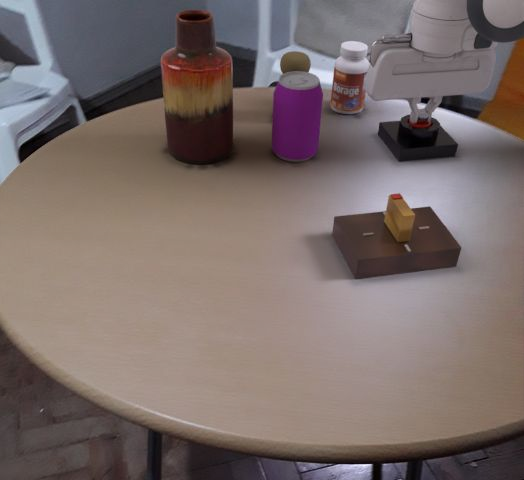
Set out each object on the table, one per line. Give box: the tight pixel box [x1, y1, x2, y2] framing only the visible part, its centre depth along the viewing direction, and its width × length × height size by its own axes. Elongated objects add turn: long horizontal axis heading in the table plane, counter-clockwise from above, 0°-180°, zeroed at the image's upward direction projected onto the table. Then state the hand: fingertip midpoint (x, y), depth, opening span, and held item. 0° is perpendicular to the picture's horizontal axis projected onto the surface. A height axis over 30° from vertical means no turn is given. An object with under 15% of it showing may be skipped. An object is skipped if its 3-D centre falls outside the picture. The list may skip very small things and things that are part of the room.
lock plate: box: [331, 206, 462, 280], centre depth 84 cm, size 14×10×3 cm
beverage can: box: [271, 71, 324, 163], centre depth 100 cm, size 8×8×12 cm
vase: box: [160, 9, 234, 165], centre depth 97 cm, size 11×11×20 cm
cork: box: [279, 50, 312, 74], centre depth 109 cm, size 6×6×11 cm
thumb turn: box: [384, 192, 415, 242], centre depth 81 cm, size 5×2×4 cm, turn 13°
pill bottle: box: [329, 40, 370, 115], centre depth 113 cm, size 6×6×11 cm
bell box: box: [377, 113, 459, 163], centre depth 105 cm, size 10×10×4 cm
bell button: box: [409, 120, 431, 128], centre depth 104 cm, size 4×4×2 cm
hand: (419, 121), depth 104 cm, fingers closed, pressing on bell button
